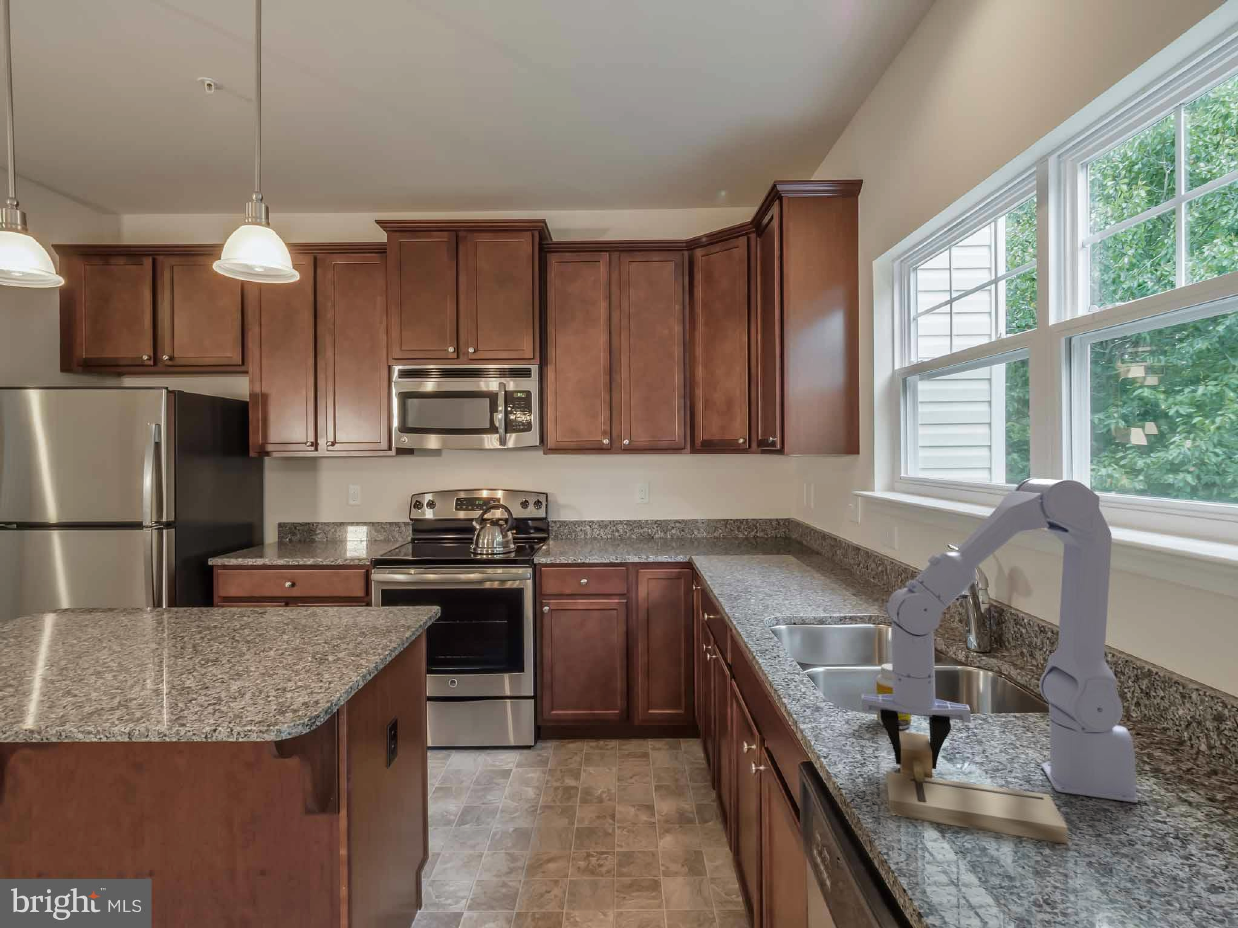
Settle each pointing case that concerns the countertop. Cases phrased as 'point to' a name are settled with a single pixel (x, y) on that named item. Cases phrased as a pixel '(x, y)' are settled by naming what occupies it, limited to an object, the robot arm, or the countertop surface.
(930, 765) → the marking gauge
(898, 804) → the maple board
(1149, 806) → the countertop surface
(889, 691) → the supplement bottle
